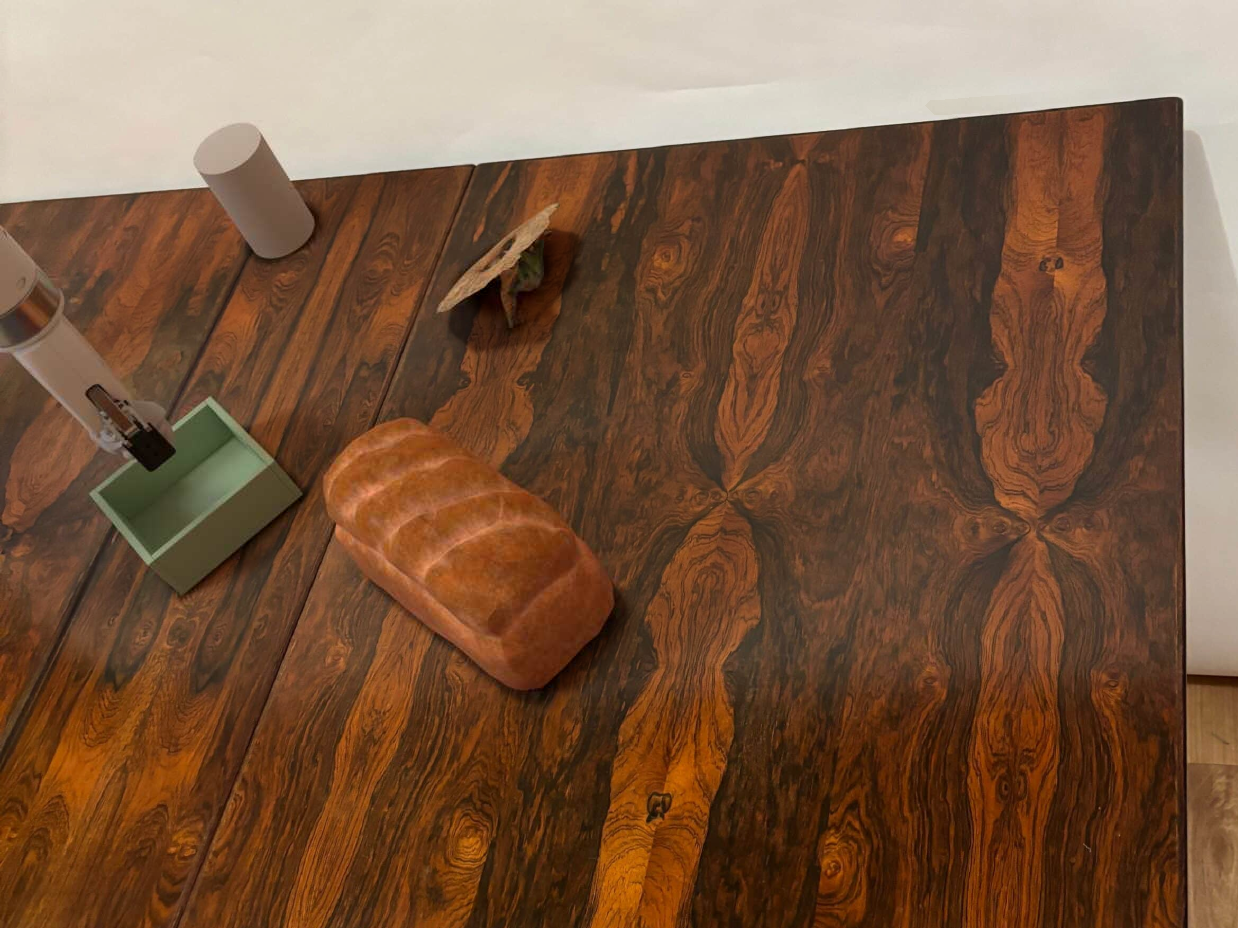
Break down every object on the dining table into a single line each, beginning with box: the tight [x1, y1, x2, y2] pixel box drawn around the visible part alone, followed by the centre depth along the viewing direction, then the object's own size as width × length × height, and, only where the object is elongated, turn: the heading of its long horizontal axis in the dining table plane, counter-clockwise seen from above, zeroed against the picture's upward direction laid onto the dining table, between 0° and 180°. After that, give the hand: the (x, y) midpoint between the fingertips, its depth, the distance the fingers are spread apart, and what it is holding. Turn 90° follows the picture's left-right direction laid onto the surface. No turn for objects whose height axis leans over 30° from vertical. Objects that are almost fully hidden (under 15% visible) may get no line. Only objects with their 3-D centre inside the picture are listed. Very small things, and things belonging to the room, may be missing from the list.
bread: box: [322, 417, 615, 691], centre depth 102 cm, size 14×26×16 cm, turn 47°
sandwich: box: [436, 202, 561, 329], centre depth 123 cm, size 18×14×8 cm
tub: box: [88, 395, 304, 596], centre depth 118 cm, size 16×14×6 cm
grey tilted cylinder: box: [193, 122, 315, 259], centre depth 134 cm, size 8×8×12 cm
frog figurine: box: [88, 399, 175, 463], centre depth 110 cm, size 6×7×7 cm
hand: (145, 442), depth 111 cm, fingers closed on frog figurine, 6 cm apart
